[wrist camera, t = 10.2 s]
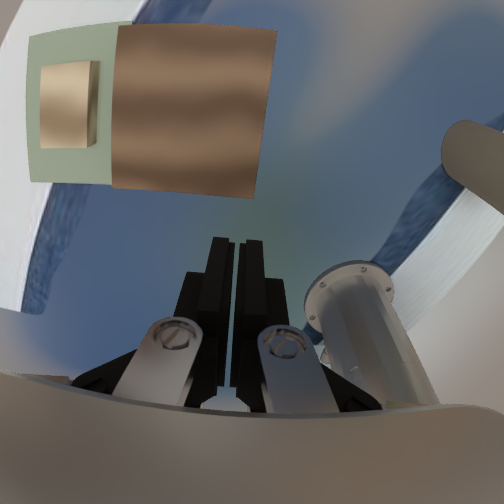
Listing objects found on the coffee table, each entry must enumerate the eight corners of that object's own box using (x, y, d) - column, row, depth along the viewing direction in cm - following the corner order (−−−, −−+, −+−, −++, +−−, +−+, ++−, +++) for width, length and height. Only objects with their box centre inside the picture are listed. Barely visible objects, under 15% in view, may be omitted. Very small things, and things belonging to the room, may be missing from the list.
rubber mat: (124, 183, 33) (123, 185, 33) (32, 180, 32) (30, 182, 32) (133, 21, 24) (132, 20, 24) (31, 36, 23) (29, 36, 23)
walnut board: (252, 185, 34) (253, 199, 31) (124, 175, 33) (111, 187, 29) (273, 36, 26) (277, 31, 23) (132, 30, 25) (118, 25, 21)
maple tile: (40, 148, 28) (51, 142, 30) (86, 148, 28) (96, 142, 30) (41, 66, 23) (53, 65, 25) (90, 60, 24) (100, 60, 26)
